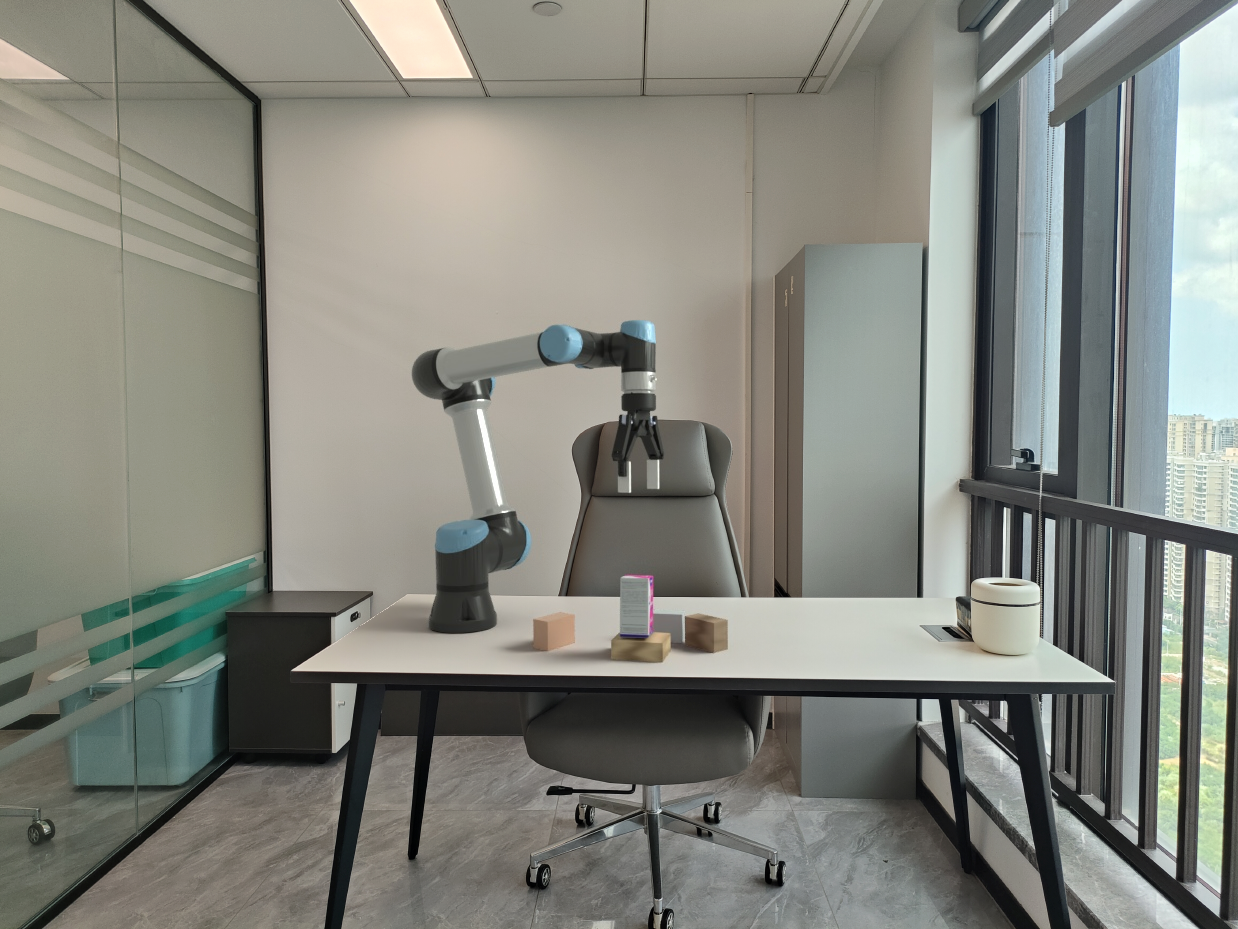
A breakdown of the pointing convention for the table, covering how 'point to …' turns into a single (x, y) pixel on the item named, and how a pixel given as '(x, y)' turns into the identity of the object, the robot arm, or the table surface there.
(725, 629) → the walnut brick
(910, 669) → the table surface
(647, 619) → the supplement box
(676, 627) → the grey painted brick
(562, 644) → the terracotta brick
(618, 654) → the oak block
